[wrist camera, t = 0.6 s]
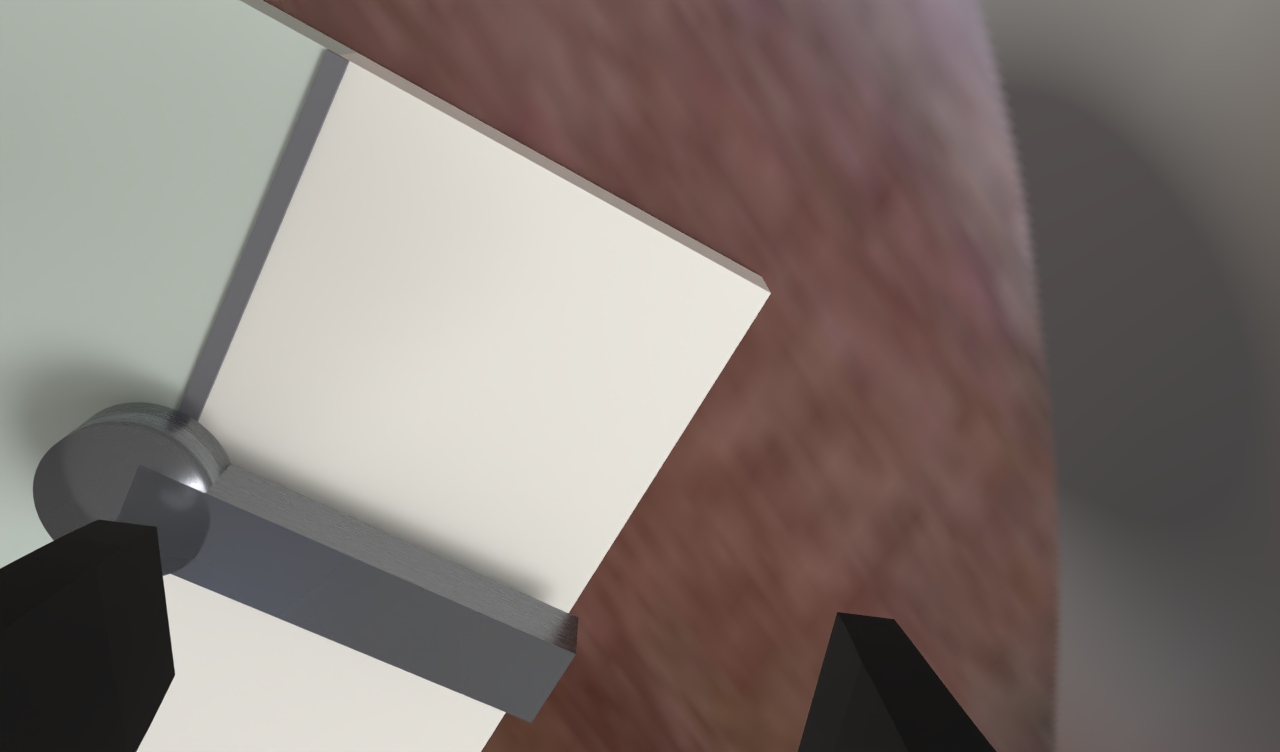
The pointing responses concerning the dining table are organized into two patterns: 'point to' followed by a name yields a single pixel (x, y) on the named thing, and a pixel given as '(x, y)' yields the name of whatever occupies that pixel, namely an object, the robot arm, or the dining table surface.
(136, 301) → the plate
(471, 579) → the bar
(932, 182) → the dining table surface
